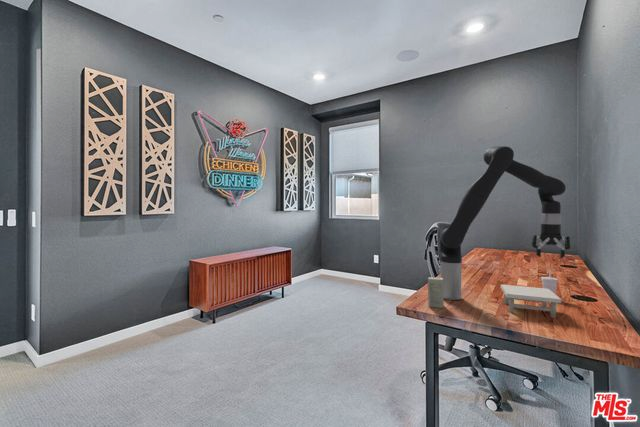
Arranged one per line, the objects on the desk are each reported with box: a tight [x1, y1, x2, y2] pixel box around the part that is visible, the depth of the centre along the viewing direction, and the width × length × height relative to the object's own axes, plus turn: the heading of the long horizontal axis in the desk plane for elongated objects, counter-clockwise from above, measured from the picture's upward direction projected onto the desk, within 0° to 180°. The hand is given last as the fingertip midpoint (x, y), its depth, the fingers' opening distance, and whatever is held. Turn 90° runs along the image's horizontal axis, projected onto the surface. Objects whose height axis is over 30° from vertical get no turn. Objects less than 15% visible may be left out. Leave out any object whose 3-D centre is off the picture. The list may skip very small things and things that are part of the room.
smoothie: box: [540, 268, 559, 294], centre depth 143 cm, size 6×6×14 cm
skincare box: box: [427, 276, 445, 309], centre depth 132 cm, size 6×4×12 cm
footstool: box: [500, 284, 562, 319], centre depth 127 cm, size 18×16×8 cm
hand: (550, 257), depth 143 cm, fingers open, 8 cm apart
